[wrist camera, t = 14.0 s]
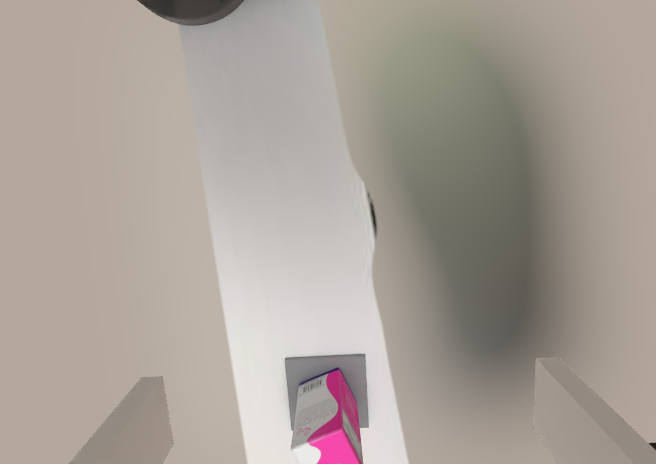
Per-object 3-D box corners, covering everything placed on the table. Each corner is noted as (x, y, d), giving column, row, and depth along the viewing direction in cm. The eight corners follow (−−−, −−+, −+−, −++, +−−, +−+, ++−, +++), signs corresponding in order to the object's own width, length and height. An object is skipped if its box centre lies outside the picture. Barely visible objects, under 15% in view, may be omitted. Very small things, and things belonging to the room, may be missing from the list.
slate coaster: (285, 358, 52) (285, 360, 52) (364, 354, 52) (365, 356, 51) (292, 427, 54) (291, 430, 54) (368, 424, 54) (368, 427, 53)
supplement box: (318, 420, 53) (312, 494, 42) (298, 382, 52) (287, 447, 41) (359, 404, 53) (365, 474, 41) (339, 365, 52) (340, 426, 40)
